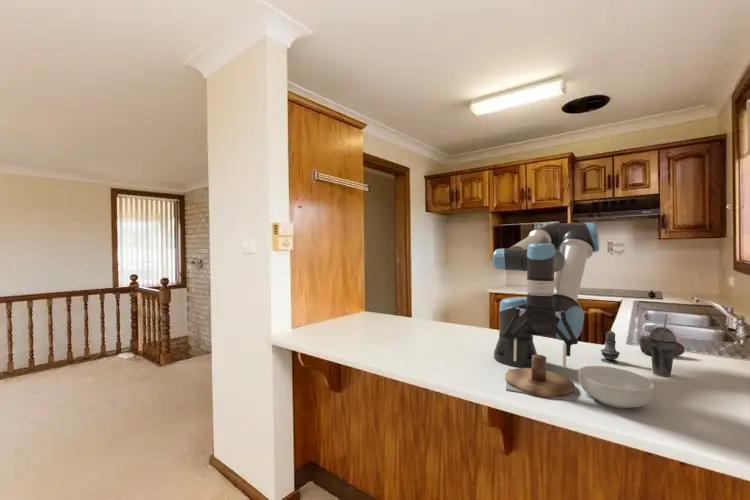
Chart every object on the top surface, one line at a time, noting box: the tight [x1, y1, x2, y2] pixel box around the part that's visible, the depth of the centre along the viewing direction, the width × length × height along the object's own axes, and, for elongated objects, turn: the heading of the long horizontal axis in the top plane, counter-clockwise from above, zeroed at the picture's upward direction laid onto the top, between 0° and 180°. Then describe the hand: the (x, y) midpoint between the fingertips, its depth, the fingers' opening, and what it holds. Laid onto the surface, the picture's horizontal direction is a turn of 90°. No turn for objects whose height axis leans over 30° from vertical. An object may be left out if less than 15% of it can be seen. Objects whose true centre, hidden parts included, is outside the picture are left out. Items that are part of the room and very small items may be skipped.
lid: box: [504, 354, 575, 398], centre depth 107 cm, size 19×19×8 cm
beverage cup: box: [648, 314, 678, 378], centre depth 116 cm, size 7×7×20 cm
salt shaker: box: [600, 328, 620, 365], centre depth 128 cm, size 6×6×12 cm
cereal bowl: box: [578, 365, 655, 409], centre depth 95 cm, size 17×17×7 cm
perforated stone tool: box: [638, 335, 686, 357], centre depth 136 cm, size 15×5×7 cm, turn 69°
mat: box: [505, 368, 577, 403], centre depth 107 cm, size 18×18×1 cm
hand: (538, 363), depth 107 cm, fingers open, 13 cm apart
